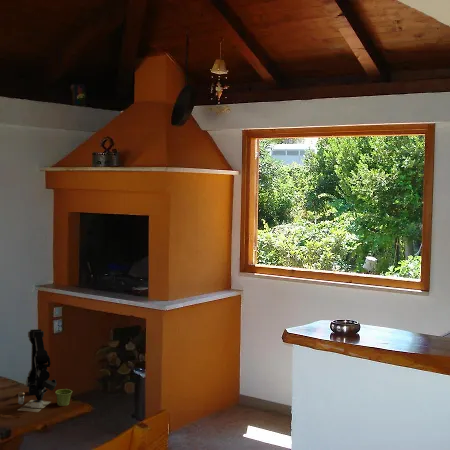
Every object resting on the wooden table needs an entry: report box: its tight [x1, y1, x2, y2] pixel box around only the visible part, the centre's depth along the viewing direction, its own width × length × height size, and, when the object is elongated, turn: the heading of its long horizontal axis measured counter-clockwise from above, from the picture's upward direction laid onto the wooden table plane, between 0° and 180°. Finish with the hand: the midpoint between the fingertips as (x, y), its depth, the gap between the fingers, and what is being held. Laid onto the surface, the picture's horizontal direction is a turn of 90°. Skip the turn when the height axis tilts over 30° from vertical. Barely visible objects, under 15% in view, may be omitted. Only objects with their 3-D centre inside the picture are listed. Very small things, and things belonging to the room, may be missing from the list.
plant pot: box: [55, 388, 73, 407], centre depth 352 cm, size 9×9×9 cm
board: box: [17, 399, 51, 413], centre depth 347 cm, size 18×12×2 cm, turn 173°
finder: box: [31, 399, 44, 408], centre depth 345 cm, size 5×5×3 cm
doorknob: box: [17, 391, 26, 405], centre depth 349 cm, size 4×4×8 cm
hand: (40, 403), depth 348 cm, fingers closed
